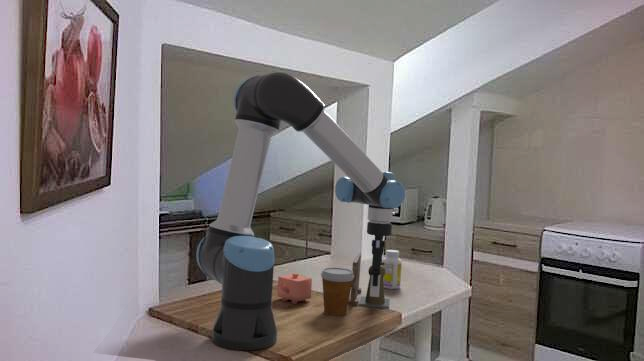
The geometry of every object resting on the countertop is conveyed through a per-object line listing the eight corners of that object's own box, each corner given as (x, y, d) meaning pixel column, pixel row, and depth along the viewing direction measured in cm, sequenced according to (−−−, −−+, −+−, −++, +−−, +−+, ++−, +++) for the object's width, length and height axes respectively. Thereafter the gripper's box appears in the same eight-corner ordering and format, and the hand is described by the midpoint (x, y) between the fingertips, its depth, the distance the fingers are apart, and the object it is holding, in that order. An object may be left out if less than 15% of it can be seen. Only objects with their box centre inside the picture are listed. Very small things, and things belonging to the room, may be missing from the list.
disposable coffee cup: (312, 310, 150) (314, 268, 150) (338, 306, 156) (341, 266, 156) (331, 319, 143) (334, 275, 142) (358, 315, 148) (361, 273, 148)
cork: (371, 297, 166) (374, 262, 166) (388, 301, 162) (390, 266, 162) (361, 300, 161) (363, 265, 161) (378, 305, 158) (380, 268, 157)
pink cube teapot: (269, 301, 157) (271, 274, 156) (295, 294, 166) (297, 269, 166) (289, 307, 152) (291, 279, 152) (314, 299, 162) (316, 273, 161)
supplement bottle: (396, 285, 188) (398, 249, 187) (402, 289, 181) (405, 252, 181) (378, 284, 186) (380, 248, 186) (384, 289, 180) (386, 252, 179)
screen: (347, 304, 158) (349, 262, 157) (352, 290, 176) (354, 252, 175) (357, 305, 157) (359, 262, 157) (361, 291, 175) (363, 252, 175)
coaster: (358, 305, 158) (359, 303, 158) (360, 298, 167) (361, 296, 167) (388, 308, 157) (389, 306, 157) (389, 300, 166) (389, 298, 166)
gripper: (391, 227, 148) (386, 302, 149) (392, 218, 172) (388, 283, 173) (365, 225, 149) (360, 300, 150) (369, 216, 173) (365, 281, 174)
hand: (375, 291), depth 162 cm, fingers open, 12 cm apart
